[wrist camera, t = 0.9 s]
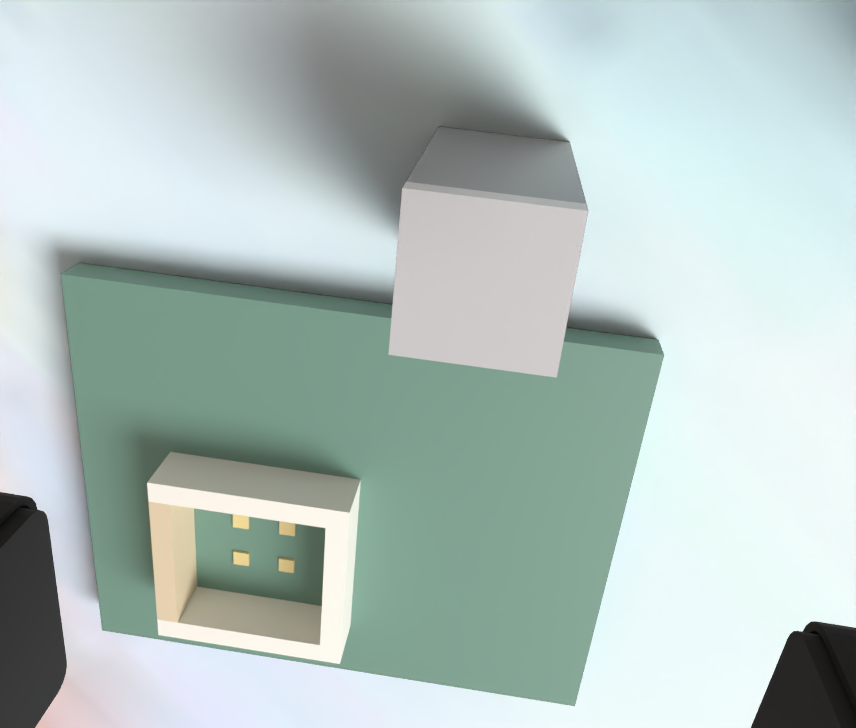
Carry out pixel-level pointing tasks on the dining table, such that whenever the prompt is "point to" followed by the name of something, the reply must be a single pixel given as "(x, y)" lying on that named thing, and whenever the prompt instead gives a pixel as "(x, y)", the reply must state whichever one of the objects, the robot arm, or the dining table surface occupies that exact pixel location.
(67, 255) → the dining table surface
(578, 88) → the dining table surface
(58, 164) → the dining table surface
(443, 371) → the board
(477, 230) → the plug
